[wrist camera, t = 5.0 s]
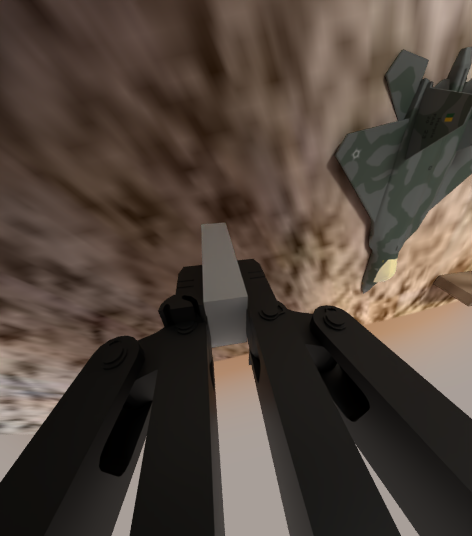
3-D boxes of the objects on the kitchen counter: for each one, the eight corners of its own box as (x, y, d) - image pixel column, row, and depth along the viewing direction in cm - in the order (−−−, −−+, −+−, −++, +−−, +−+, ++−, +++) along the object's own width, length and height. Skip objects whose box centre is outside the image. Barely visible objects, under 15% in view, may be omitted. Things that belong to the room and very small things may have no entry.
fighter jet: (302, 300, 20) (323, 333, 17) (338, 61, 9) (416, 22, 6) (411, 276, 21) (451, 303, 18) (559, 33, 10) (734, -15, 7)
